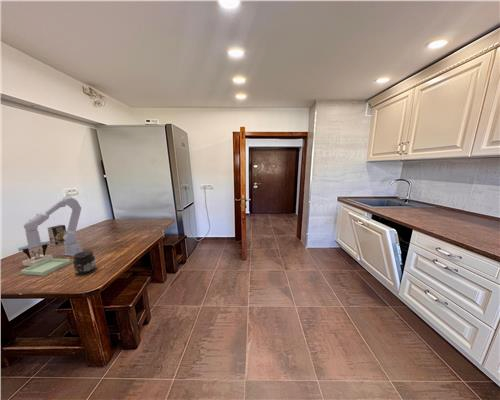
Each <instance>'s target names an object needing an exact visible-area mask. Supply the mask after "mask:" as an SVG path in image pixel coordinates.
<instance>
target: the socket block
mask: <svg viewBox="0 0 500 400" xmlns="http://www.w3.org/2000/svg"><path fill="white" fill-rule="evenodd" d="M50 258H53V254H45V256H44V255H43V254H40V259H37V260H35V257H34V256H33V257H31V259H29V258H28V259H25V260H23V261H22V266H27V267H30V266H33V265H35V264H38V263H40V262H43V261H45V260H48V259H50Z"/></svg>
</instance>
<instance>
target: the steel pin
mask: <svg viewBox="0 0 500 400" xmlns="http://www.w3.org/2000/svg"><path fill="white" fill-rule="evenodd" d="M40 252H41V249H40V248H36V249H33V250H31V253H33V257H35V260H37V259H40V255H41V254H40Z"/></svg>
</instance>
